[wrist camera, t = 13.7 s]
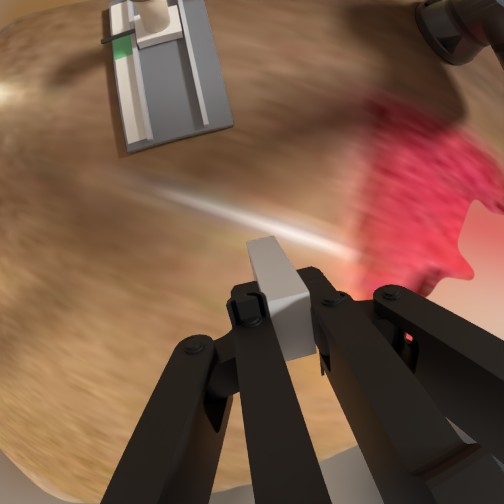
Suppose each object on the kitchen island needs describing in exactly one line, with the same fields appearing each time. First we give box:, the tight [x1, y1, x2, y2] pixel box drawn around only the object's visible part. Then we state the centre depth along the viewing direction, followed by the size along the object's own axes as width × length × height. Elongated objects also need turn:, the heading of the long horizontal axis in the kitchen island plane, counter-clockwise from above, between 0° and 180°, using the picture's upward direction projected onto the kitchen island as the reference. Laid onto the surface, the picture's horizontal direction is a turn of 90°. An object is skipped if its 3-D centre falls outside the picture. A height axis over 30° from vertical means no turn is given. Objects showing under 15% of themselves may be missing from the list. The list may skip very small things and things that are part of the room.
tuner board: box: [109, 0, 234, 153], centre depth 32 cm, size 14×26×3 cm, turn 13°
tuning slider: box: [101, 0, 183, 49], centre depth 25 cm, size 11×5×13 cm, turn 103°
